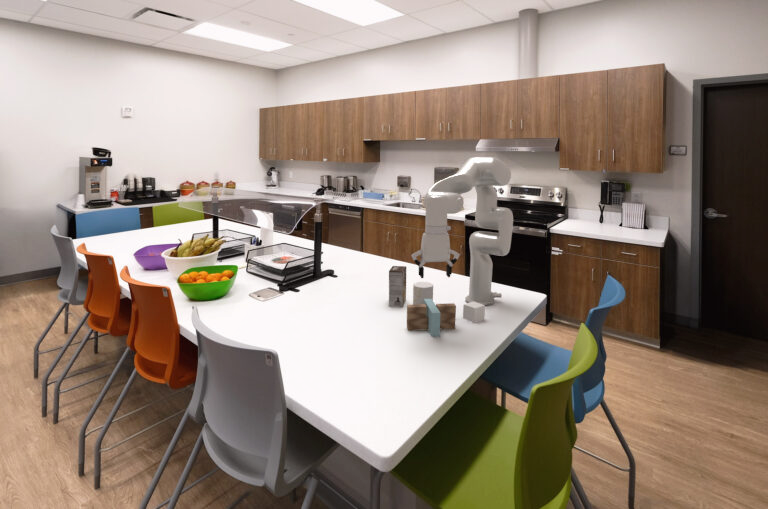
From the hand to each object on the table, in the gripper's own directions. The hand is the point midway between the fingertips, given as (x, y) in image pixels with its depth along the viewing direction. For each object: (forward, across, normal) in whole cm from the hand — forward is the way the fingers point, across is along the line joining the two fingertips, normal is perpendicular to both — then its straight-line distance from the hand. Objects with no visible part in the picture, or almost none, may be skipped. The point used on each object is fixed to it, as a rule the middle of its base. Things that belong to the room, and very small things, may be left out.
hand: (435, 276), depth 159 cm
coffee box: (+22, +10, -32) cm, 40 cm away
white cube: (+22, -19, -12) cm, 31 cm away
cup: (+22, 0, -20) cm, 30 cm away
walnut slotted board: (+21, 0, -4) cm, 21 cm away
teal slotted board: (+21, 0, -3) cm, 21 cm away
